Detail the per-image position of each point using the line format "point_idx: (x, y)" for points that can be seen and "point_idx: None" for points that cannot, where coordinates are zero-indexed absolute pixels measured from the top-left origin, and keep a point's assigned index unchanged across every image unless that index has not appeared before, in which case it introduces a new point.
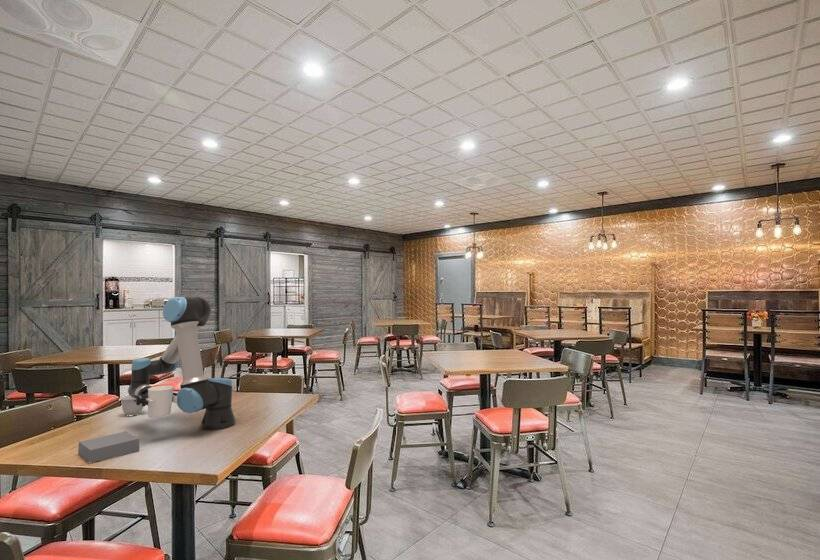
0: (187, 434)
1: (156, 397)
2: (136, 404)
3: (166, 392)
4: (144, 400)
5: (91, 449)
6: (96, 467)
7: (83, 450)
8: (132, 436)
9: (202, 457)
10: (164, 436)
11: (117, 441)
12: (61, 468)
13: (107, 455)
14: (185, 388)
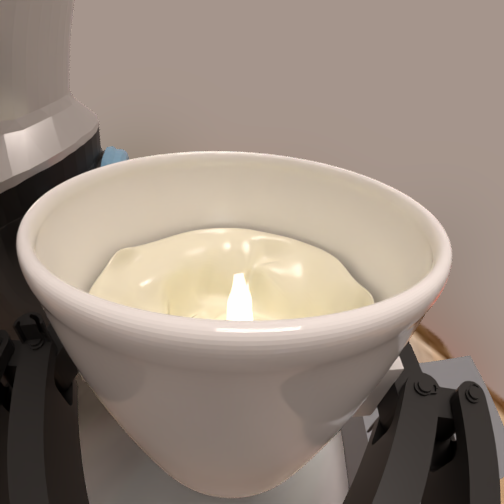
0: (112, 426)
1: (313, 241)
2: (448, 458)
3: (231, 185)
4: (408, 364)
5: (469, 360)
6: (430, 348)
7: None
8: (371, 418)
9: None
10: (181, 499)
11: None
12: (491, 391)
13: None
14: (118, 150)
